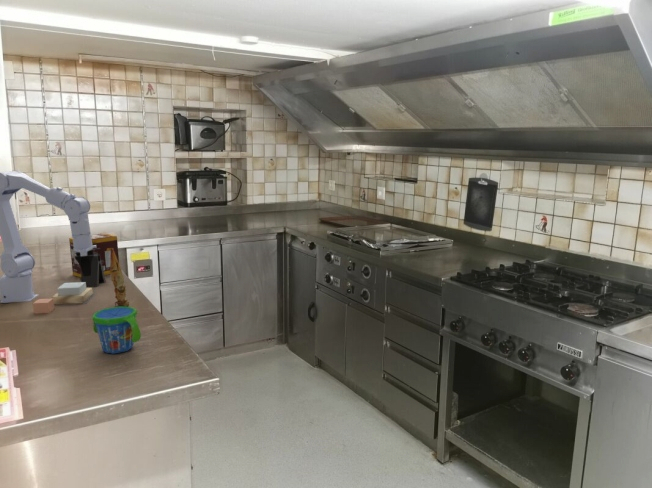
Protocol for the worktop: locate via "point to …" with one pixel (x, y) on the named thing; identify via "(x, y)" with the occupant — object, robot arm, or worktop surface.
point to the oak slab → (73, 297)
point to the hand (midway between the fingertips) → (87, 273)
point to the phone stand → (94, 273)
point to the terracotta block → (43, 306)
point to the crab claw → (118, 280)
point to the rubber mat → (79, 303)
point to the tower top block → (72, 288)
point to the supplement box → (97, 252)
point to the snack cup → (116, 328)
